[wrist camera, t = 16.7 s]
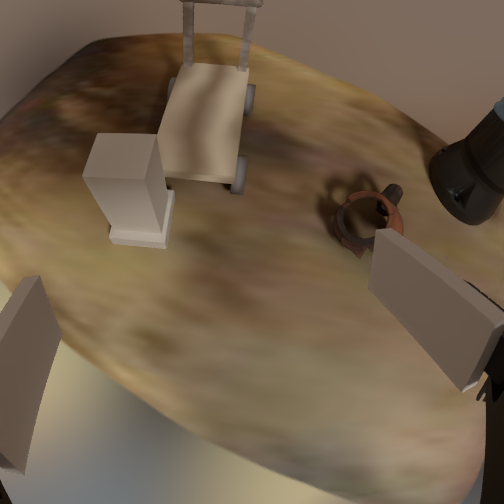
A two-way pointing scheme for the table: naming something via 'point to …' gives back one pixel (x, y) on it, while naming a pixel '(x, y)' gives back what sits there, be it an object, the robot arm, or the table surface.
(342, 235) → the broken clay pot
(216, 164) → the trolley
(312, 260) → the table surface
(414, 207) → the table surface
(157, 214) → the grey pillar on base
